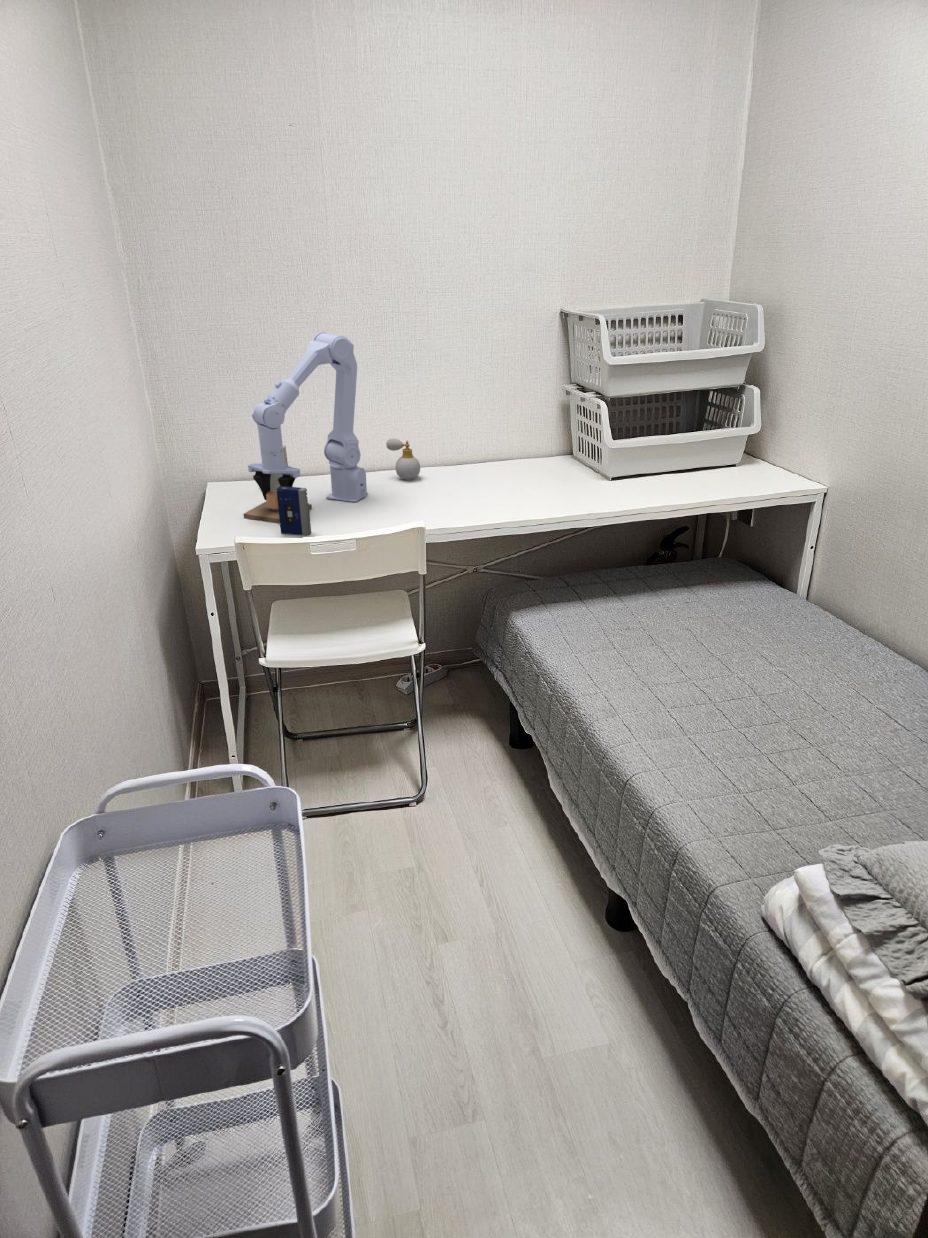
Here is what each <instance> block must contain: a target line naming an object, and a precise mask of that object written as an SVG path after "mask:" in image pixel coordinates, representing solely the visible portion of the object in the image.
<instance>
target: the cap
mask: <svg viewBox="0 0 928 1238" xmlns="http://www.w3.org/2000/svg"><path fill="white" fill-rule="evenodd" d="M266 501H267V506H268V508H271V509H278V500H277V490H271V491H269V492H267V493H266V500H265V502H266Z"/></svg>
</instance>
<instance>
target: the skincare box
mask: <svg viewBox="0 0 928 1238" xmlns="http://www.w3.org/2000/svg"><path fill="white" fill-rule="evenodd" d="M283 454H284V464H285V465H286V466H289V464H288V463H289V461H288V455H287V448H286V445H283ZM280 477H283V476H282V475H276V474H271V478H270V489H271V491H272V490H276V489H277V488H278V487H279V486H280V484H279V481H278V478H280Z"/></svg>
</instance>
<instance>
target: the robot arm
mask: <svg viewBox="0 0 928 1238" xmlns="http://www.w3.org/2000/svg"><path fill="white" fill-rule="evenodd" d="M354 346H355V345H354V344H353V343H352V342H351V341H350V340H349V338H348V337H346V336H344V335H338V334H331V333H327V332H325V331H322V332H321V331H320V332H318V333H317V334H315V335H314V337H313V339H312V340H311V341H310V342H309V343H308V346H307V350H306V351H305V353H304V354H303V356H302V358H301V359H300V360H299V362H298V363H297V365H295V368H294V369H293V371H292V372H291V373H290V375H289V376H288V378H281V379H280V380H279V381H276V382H275V383H274V388H273V389H272V390H271V392H269V394H268V396H265V397H264V399H263V402H261V403H258V404H257V405H256V406H255V407H254V408H253V409H254V410H253V413H252V414H251V417H252V420H253V421H254V423H255V424H256V426H257V431H258V439H259V447H260V448H259V449H260V456H261V457H260V458H261V463H252V462H251V463H249V464H248V465H247V468H248V473H254V475H252V477H253V480H254V481H255V482H256V484H257V486H258V487H259V489H260V491H261V494H262V497H263V499H264V501H266V493H267V492H269V491H272V490H271V489H270V478H271V474H276V475H282V476H283V477H280V478H278V481H279V484H280V486H285V487H294V486H293V485H294V483H295V481H296V479H297V478H299V477H301V470H300V469H301V468H298V467H292V466H290V465H288V466H286V465H285V464H284V454H283V436H282V425H283V424H284V422H285V420H286V419H285V415H286V413H287V411H288V409H289V408H290V407H291V406H292V405H293V403H294V402H295V400H296V399H298V396H300V390H299V389H300V387H301V386H302V384H303V383H304V382H305V381H306V380H307V379H308V377H310V375H311V374H312V373H313V372H314V371H315V370H316V369H317V368H318V367H319V366H321V365H322V366H323V365H327V364H328V365H330V366H331V367H332V368H333V369H334V370H335V371H336V373H335V389H334V406H333V407H334V408H333V422H332V430H331V431H330V432H329V433H328V434H327V440H326V443H325V445H324V448H323V454H324V457H325V458H326V460H328V462H329V463H328V464H329V470H330V483H331V484H330V485H331V493H330V494H328V495H327V496H326V497H325V498H326V499H329V500H335V501H344V502H351V503H357V502H358V501H360V500H361V499H363V498H364V497H366V496H368V495H369V492H368V487H367V473H366V470H365V469H364V468H362V467H360V466H358V465H359V463H360V460H361V451H360V448H359V443H360V442H359V441H360V440H359V439H358V437H357V435H355V432H354V423H355V421H354V420H355V410H356V409H355V407H356V391H357V377H358V362H357V360H356V359H357V358H356V357H355V353H354Z"/></svg>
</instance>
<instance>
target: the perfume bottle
mask: <svg viewBox="0 0 928 1238" xmlns="http://www.w3.org/2000/svg"><path fill="white" fill-rule="evenodd" d="M385 444H386V448H387V449H388V450H390V451H395V452H396V451H399V450H401V449H402V456H400V457H399V458H398V459H397V460H396V463H395V472H396V475H397V476H398V477H399V478H400V479H402V480H404V479H405V481H411V479H412V480H414V479H416V478H417V477H418V476H419V474H420V473H421V464H420V461H419V460H418V458H417V457H415V456H414V454H413V449H412V448H409V447H410V446H411V445H410V443H409V440H406V441H405V443H403V441H401V440H400V439H398V438H389V439H388V440H387V442H386V443H385ZM404 447H405V448H404Z"/></svg>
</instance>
